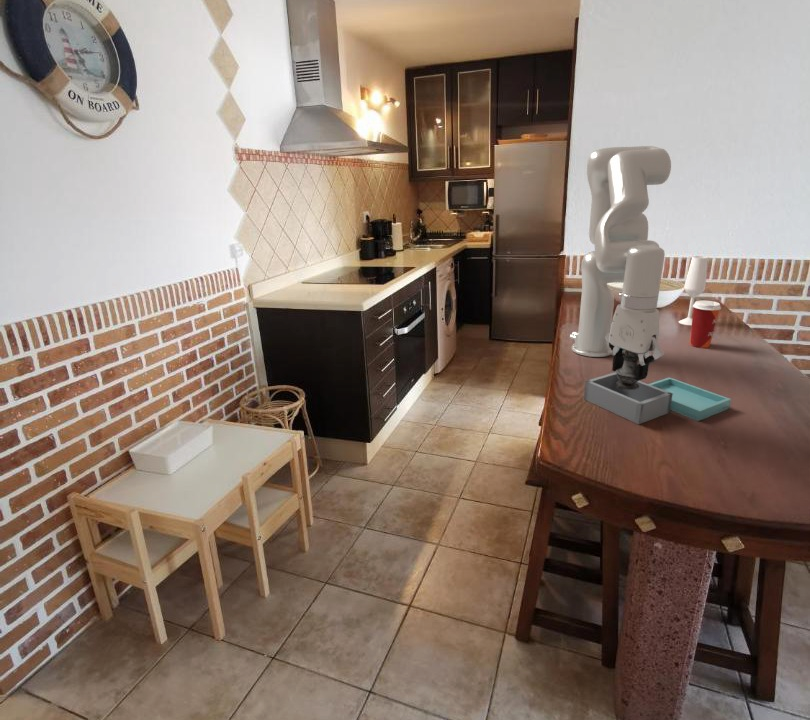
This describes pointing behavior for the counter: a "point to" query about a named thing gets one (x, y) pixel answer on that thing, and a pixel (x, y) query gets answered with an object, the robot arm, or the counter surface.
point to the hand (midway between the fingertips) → (628, 373)
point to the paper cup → (703, 323)
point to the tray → (692, 399)
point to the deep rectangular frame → (628, 398)
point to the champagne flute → (695, 283)
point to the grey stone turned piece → (628, 372)
